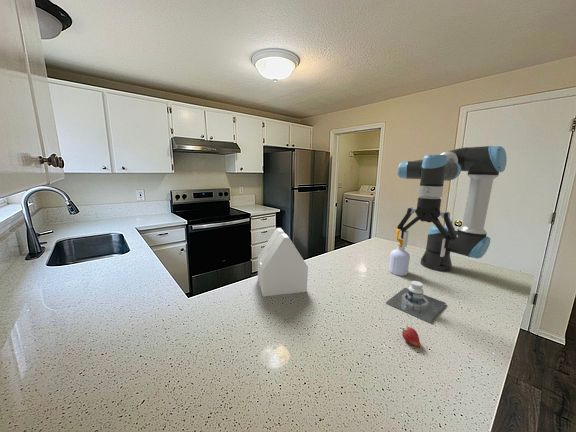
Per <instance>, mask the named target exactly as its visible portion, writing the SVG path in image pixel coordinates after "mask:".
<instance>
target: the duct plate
mask: <svg viewBox="0 0 576 432" xmlns="http://www.w3.org/2000/svg"><path fill="white" fill-rule="evenodd" d="M407 295H408V288H407V287H404V288H402V289H401V290H400V291H399V292H397V293H396V294H394V295H393V296H392V297H390V298H389V299H388V300H386V302H385V304H387V305H389V306H390V307H391V306H392V307H393V308H396V309H398V310H400V311H402V312H404V313H407V314H409V315H410V316H413V317H416V318H418V319H420V320H422V321H425V322H426V323H429V324H431V323H432V322H433V321H434V320H435V318H437V316H438V315H439V314H440V312H441V311H442V310H443V309H444V308H445V306H446V305H447V302H444V301H442V300H440V299H437V298H434V297H431V296H429V295H426V294H425V293H423V298H422V304H416V303H412V302H410V301H408V300H407Z"/></svg>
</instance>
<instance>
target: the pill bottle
mask: <svg viewBox="0 0 576 432" xmlns="http://www.w3.org/2000/svg"><path fill="white" fill-rule="evenodd" d="M423 286H424V284H423V283H422V282H421V281H418V280H412V281H411V282H410V286H409V287H408V288H407V289H408V295H407V300H408V301H410V302H412V303H416V304H422V298H423V294H424V289H423V288H424V287H423Z"/></svg>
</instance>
